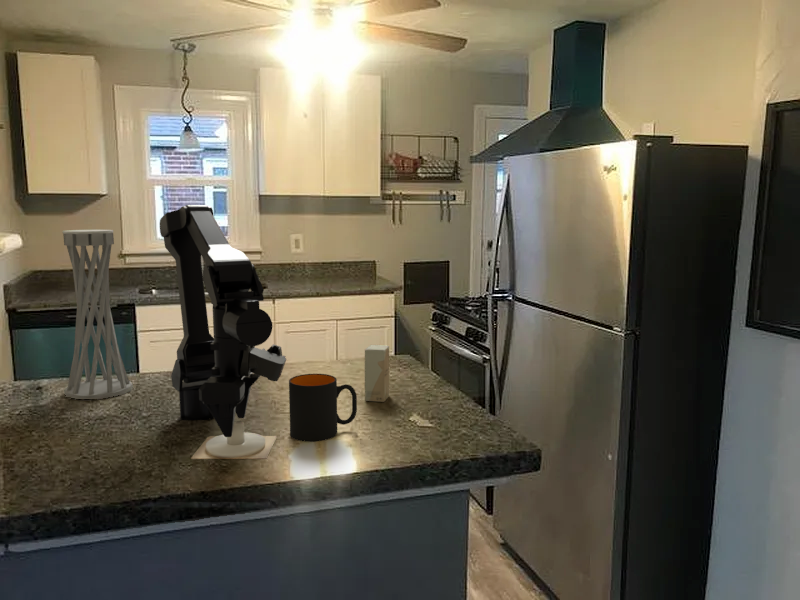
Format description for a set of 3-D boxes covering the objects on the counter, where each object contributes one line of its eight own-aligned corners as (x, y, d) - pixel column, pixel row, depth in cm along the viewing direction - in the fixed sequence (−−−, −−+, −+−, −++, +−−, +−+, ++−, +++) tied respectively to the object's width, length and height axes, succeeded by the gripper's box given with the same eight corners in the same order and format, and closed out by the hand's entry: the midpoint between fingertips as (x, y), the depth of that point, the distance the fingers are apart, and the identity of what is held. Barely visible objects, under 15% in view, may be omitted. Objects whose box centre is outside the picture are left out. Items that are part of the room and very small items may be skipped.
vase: (117, 379, 152) (108, 228, 147) (143, 390, 143) (133, 230, 137) (55, 391, 142) (42, 230, 137) (78, 404, 133) (65, 232, 128)
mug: (362, 439, 114) (362, 381, 112) (294, 447, 110) (292, 387, 108) (351, 424, 121) (350, 370, 120) (286, 431, 118) (285, 375, 116)
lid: (198, 457, 104) (197, 433, 103) (214, 436, 113) (214, 414, 112) (258, 457, 104) (258, 433, 103) (270, 436, 113) (269, 414, 113)
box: (384, 402, 135) (384, 350, 133) (364, 401, 135) (363, 349, 134) (389, 395, 140) (389, 345, 138) (370, 394, 140) (370, 344, 139)
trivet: (190, 462, 103) (190, 458, 103) (208, 439, 113) (208, 436, 113) (266, 461, 104) (266, 458, 103) (277, 439, 113) (277, 436, 113)
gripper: (271, 347, 97) (273, 447, 99) (290, 324, 115) (292, 409, 117) (195, 347, 96) (200, 448, 99) (226, 324, 115) (230, 409, 117)
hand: (235, 426), depth 108 cm, fingers open, 9 cm apart
